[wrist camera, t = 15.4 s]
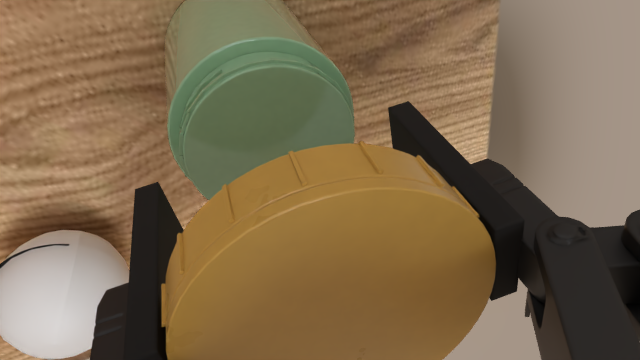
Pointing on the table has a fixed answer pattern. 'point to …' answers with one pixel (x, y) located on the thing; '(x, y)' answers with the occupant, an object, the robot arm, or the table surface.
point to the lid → (329, 262)
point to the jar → (247, 89)
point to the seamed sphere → (57, 292)
